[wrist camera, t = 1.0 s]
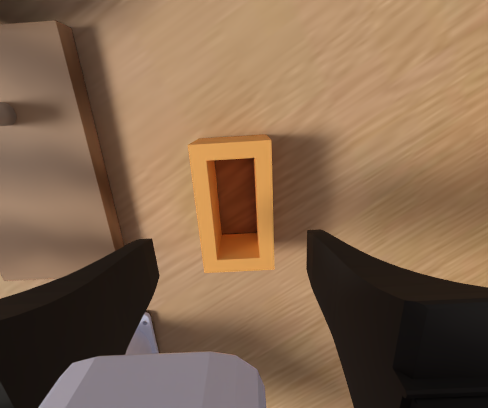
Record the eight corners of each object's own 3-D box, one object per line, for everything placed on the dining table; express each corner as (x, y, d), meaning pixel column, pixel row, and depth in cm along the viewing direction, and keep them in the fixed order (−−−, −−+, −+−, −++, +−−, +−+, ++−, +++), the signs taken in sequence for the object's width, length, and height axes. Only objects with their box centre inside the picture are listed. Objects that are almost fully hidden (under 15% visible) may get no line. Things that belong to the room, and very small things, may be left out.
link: (269, 242, 22) (274, 269, 18) (211, 245, 22) (204, 272, 18) (266, 134, 19) (271, 139, 15) (198, 138, 19) (187, 145, 15)
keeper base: (128, 265, 23) (97, 307, 18) (18, 270, 23) (-44, 314, 18) (71, 28, 17) (-1, -7, 12) (-78, 38, 17) (-209, 8, 12)
